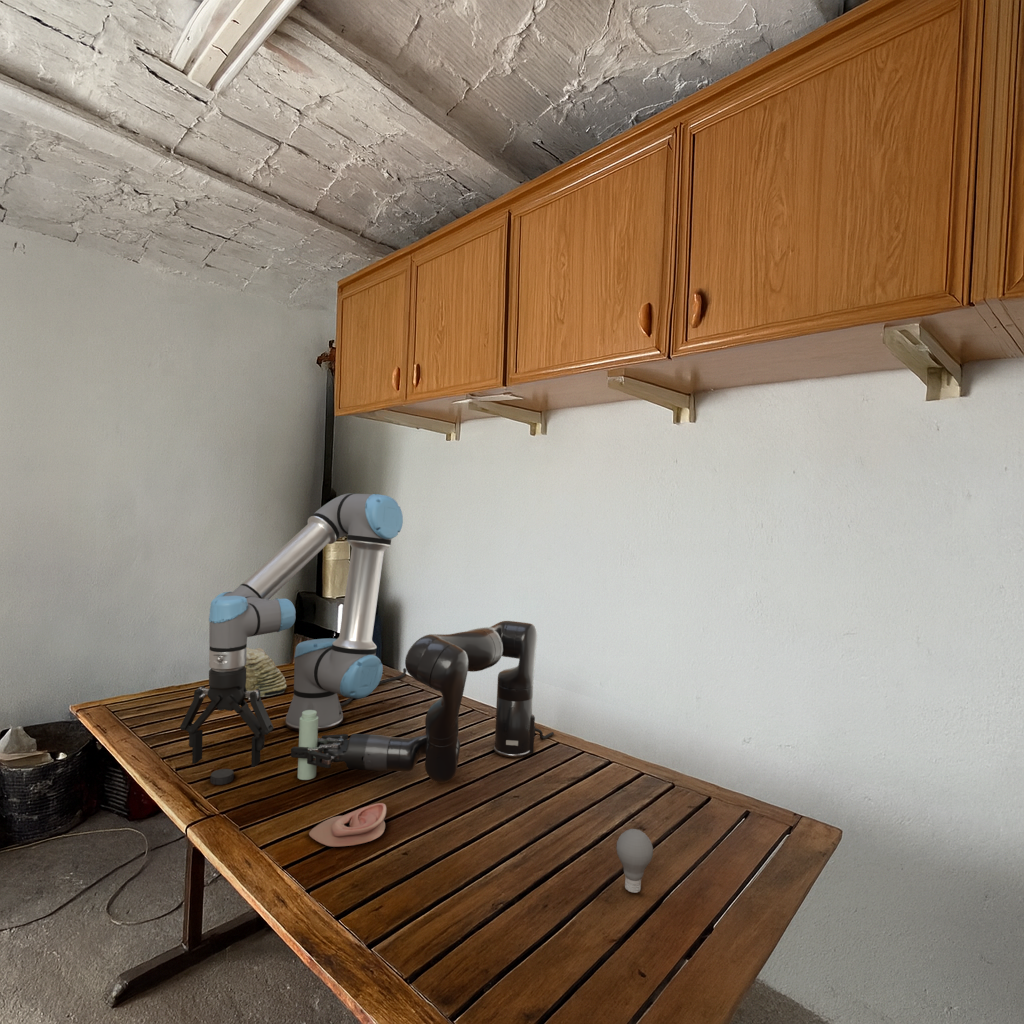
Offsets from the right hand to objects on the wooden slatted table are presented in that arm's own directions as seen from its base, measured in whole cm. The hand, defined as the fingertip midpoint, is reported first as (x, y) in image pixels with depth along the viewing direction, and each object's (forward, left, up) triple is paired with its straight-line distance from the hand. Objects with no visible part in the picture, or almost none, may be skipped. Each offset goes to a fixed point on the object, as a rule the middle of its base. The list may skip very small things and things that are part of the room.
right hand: (295, 747), depth 143 cm
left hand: (+14, -3, -3) cm, 15 cm away
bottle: (-2, +1, -6) cm, 7 cm away
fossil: (+8, -63, -6) cm, 63 cm away
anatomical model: (-8, +28, -6) cm, 30 cm away
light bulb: (-49, +62, -6) cm, 79 cm away
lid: (+15, -2, -5) cm, 16 cm away
